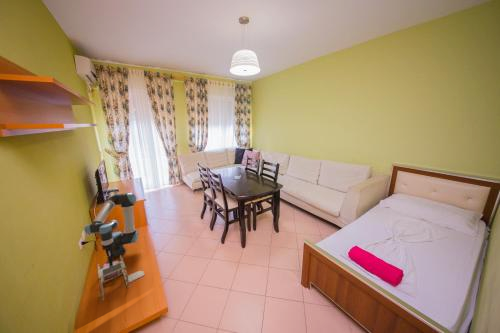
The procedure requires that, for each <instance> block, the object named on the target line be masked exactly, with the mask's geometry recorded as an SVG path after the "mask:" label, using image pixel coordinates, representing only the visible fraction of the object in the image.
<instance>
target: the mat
mask: <svg viewBox="0 0 500 333" xmlns="http://www.w3.org/2000/svg"><path fill="white" fill-rule="evenodd" d="M144 276H145V272H144V270H143V271H140V270H137V271H136V272H133V273H131V274H128V281H129V284H130V283H131V282H134V281H136V280H139V279H140V278H143V277H144Z"/></svg>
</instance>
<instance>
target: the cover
mask: <svg viewBox="0 0 500 333" xmlns="http://www.w3.org/2000/svg"><path fill="white" fill-rule="evenodd" d="M123 268H126V265H125V261H124V259H123V260H122V261H120V260H119V261H118V262H117V263H115V264H113V266H111V267H109V266H107V267H105V268H103V267H102V268H100V270H98V269H97V274H98V280H99V279H100V278H102V277H103V278H104V276H107V275H109V274H112V273H114V272H116V271H119V270H120V271H121V269H123Z"/></svg>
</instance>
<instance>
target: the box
mask: <svg viewBox="0 0 500 333" xmlns="http://www.w3.org/2000/svg"><path fill="white" fill-rule="evenodd" d="M117 262H119V260H115V261H114V260H113V264H115V263H117ZM107 266H109V263H108V262H107V263H104V264H103V267H102V268H105V267H107ZM120 273H121V270H119V271H116V272H114V273H112V274H109V275H107V276H104V277H103V279H104V280H106V279H109V278H111V277H113V276H116V275H118V274H120Z"/></svg>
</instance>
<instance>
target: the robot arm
mask: <svg viewBox="0 0 500 333" xmlns="http://www.w3.org/2000/svg"><path fill="white" fill-rule="evenodd" d="M136 203H137V197H136V194H135V193H134V192H125V193H116V194H114V195H113V194H112V196H109V197H108V198H107V199H106V200H105V201H104V202H103V206H102V208H100V211H99V212H98V213H97V215H96V217H95V218H94V220H93V221H92V222H91V223H89V224H86V225H85V226H84V229H83V230H84V234H86V235H91V234H98V233H99V236H100V241H99V242H100V243H101V249H102V250H103V251H105V254H106V256H107V263H109V267H111V266H113V262H114V259H118V258H120V256H122V257H123V256H124V255H125V254H126V252H127V249H126V247H125V245H131V244H135V243H137V242H138V239H139V235H140V232H139V231H138V230H137V229H136V228H135V217H134V216H135V215H134V206H135V204H136ZM117 206H120V207H121V208H122V210H123V211H122V212H123V225H124V231H123V232H122V231H116V229H117V228H118V227H119V225H120V223H119V221H118V220H116V219H111V220H110V221H108V222H105V221H106V220H107V218H108V216H109V215H110V213H111V211H112V210H113V209H115V207H117ZM114 231H115V232H114Z"/></svg>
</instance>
